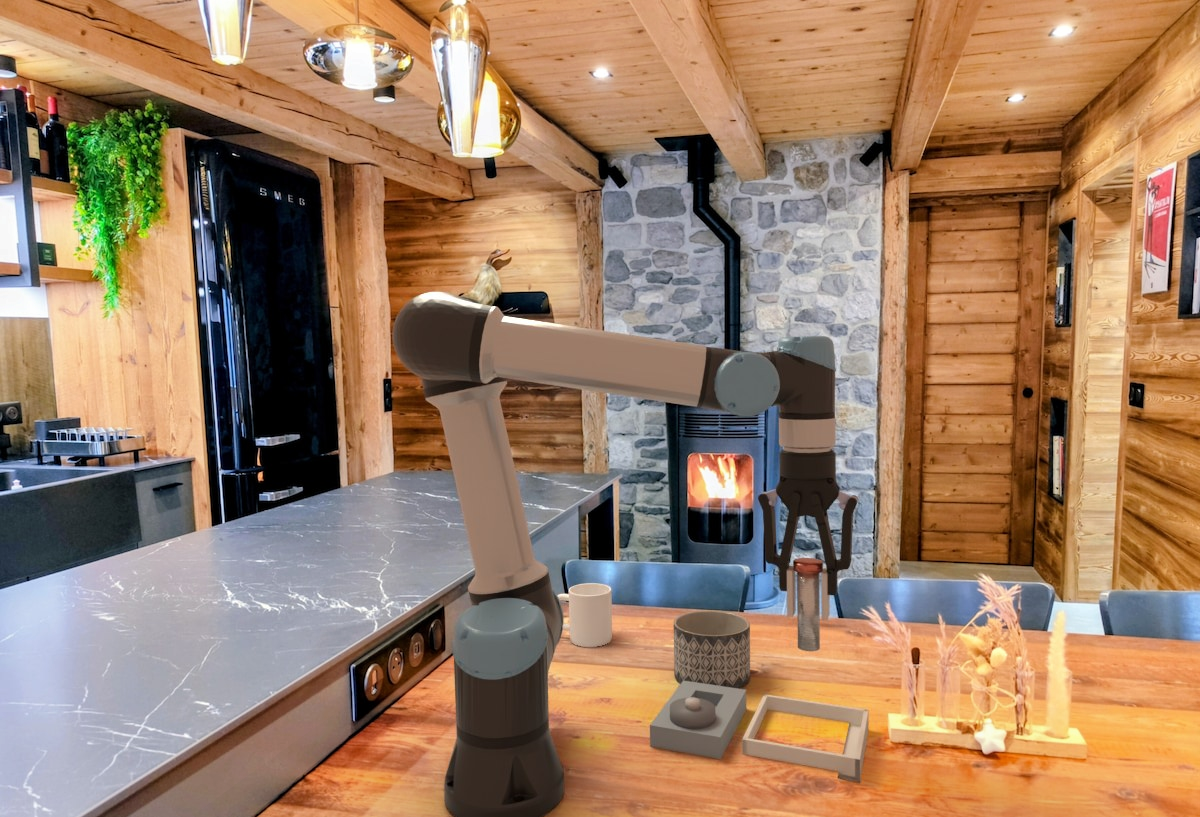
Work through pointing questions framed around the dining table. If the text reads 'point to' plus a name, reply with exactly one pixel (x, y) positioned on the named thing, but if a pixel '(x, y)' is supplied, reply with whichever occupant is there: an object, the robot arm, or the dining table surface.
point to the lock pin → (808, 602)
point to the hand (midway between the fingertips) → (808, 615)
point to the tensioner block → (699, 719)
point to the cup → (589, 614)
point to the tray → (844, 763)
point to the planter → (712, 648)
